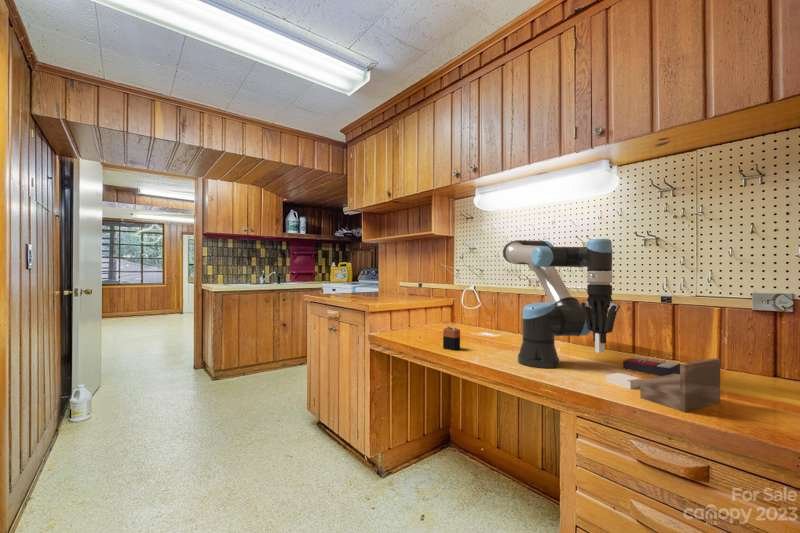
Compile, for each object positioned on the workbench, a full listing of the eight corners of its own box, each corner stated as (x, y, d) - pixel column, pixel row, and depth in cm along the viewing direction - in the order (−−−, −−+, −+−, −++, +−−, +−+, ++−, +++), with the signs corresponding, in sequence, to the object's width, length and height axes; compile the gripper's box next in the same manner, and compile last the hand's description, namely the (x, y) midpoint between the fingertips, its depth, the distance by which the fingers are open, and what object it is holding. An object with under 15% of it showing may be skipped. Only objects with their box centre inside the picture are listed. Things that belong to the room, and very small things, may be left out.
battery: (448, 347, 166) (448, 325, 166) (460, 349, 162) (460, 327, 162) (442, 348, 163) (442, 326, 163) (455, 350, 158) (455, 328, 158)
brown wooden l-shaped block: (640, 397, 102) (640, 355, 102) (675, 389, 109) (675, 350, 109) (685, 412, 92) (685, 365, 92) (720, 402, 99) (720, 359, 99)
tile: (605, 382, 117) (605, 374, 117) (619, 380, 119) (619, 372, 119) (630, 390, 109) (630, 381, 109) (644, 387, 112) (644, 378, 112)
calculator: (634, 355, 139) (681, 361, 127) (635, 366, 139) (682, 374, 127) (622, 359, 132) (670, 366, 120) (622, 371, 132) (671, 379, 120)
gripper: (575, 283, 127) (575, 349, 127) (610, 284, 115) (610, 357, 115) (589, 283, 130) (590, 347, 130) (625, 284, 118) (625, 355, 118)
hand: (599, 352), depth 122 cm, fingers closed
